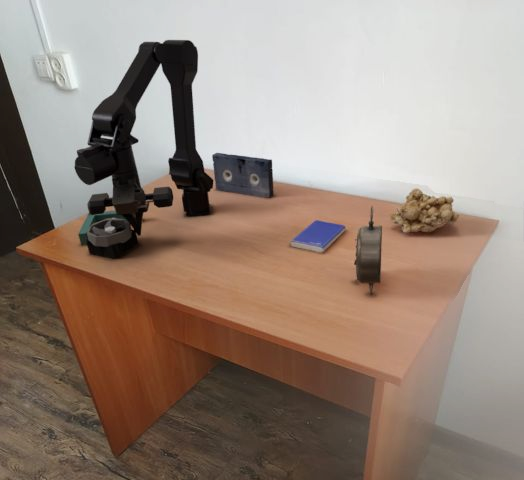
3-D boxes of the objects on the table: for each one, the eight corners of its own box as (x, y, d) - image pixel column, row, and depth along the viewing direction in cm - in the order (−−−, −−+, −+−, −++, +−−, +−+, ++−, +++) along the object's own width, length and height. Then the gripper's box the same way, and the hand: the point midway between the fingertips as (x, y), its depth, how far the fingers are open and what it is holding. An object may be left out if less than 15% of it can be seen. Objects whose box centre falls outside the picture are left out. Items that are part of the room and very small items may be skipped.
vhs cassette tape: (274, 195, 141) (272, 159, 135) (268, 198, 139) (266, 162, 133) (221, 186, 149) (217, 152, 143) (215, 189, 147) (211, 155, 141)
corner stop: (142, 219, 133) (139, 208, 132) (136, 240, 123) (133, 229, 121) (91, 223, 133) (88, 212, 131) (81, 245, 123) (77, 234, 121)
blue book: (322, 246, 111) (345, 225, 119) (290, 240, 115) (314, 219, 123) (322, 253, 112) (345, 231, 120) (290, 246, 116) (314, 225, 124)
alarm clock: (379, 298, 96) (387, 219, 86) (350, 297, 97) (355, 218, 87) (380, 270, 104) (387, 195, 94) (354, 269, 105) (358, 194, 95)
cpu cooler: (111, 238, 111) (76, 232, 115) (117, 261, 115) (83, 254, 119) (139, 220, 119) (105, 214, 122) (144, 242, 122) (111, 236, 126)
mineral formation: (408, 211, 127) (468, 219, 119) (385, 239, 120) (447, 250, 112) (408, 181, 121) (471, 188, 113) (383, 209, 115) (448, 218, 107)
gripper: (73, 186, 103) (94, 254, 113) (163, 177, 103) (176, 246, 113) (83, 169, 112) (102, 233, 122) (166, 160, 112) (179, 225, 122)
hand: (139, 235), depth 119 cm, fingers closed
